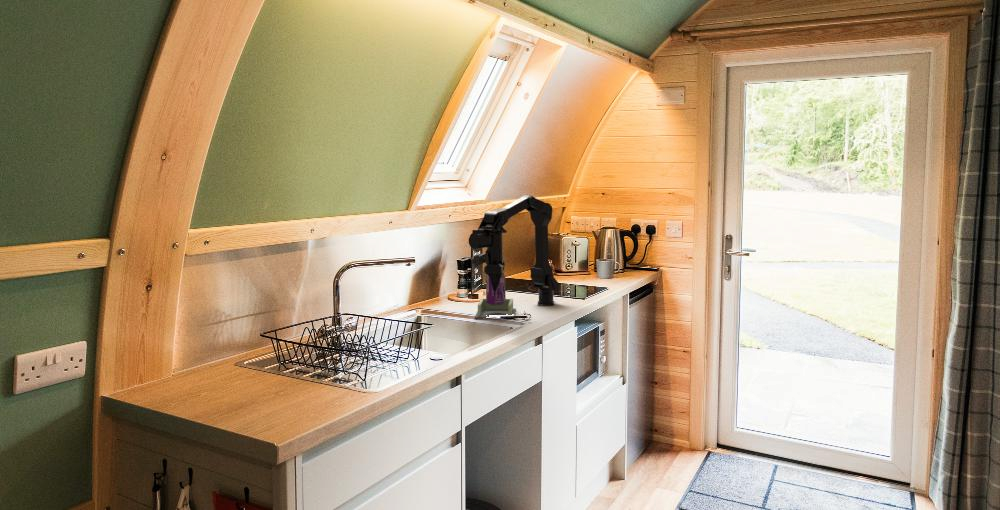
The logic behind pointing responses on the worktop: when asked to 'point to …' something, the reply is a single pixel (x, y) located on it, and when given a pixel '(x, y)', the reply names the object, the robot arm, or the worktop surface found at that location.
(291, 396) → the worktop surface
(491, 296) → the beverage can
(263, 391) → the worktop surface
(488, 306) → the chute bracket
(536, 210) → the robot arm
